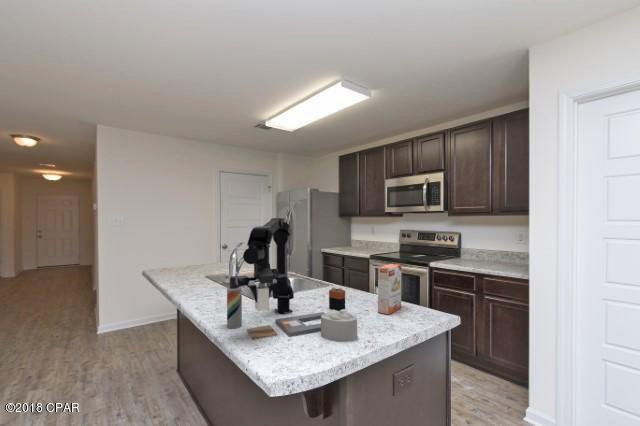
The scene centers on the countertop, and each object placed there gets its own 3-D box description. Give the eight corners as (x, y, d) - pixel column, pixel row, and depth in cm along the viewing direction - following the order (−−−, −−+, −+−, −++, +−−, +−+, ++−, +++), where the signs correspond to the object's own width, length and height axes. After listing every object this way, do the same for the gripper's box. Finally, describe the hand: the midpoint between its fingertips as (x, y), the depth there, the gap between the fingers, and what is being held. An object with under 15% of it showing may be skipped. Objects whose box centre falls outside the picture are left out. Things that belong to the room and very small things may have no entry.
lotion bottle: (228, 324, 126) (228, 275, 126) (242, 323, 127) (242, 274, 127) (225, 328, 120) (225, 277, 121) (240, 328, 121) (240, 277, 121)
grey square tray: (275, 322, 127) (275, 317, 127) (323, 315, 137) (323, 310, 137) (289, 336, 112) (289, 330, 112) (342, 327, 121) (342, 321, 121)
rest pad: (246, 330, 119) (246, 328, 119) (269, 326, 123) (269, 325, 123) (252, 339, 110) (252, 337, 110) (277, 335, 113) (277, 333, 113)
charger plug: (255, 307, 118) (255, 282, 118) (265, 306, 119) (265, 281, 120) (258, 311, 113) (258, 285, 113) (268, 309, 115) (268, 284, 115)
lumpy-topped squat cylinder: (331, 328, 121) (331, 306, 121) (362, 334, 114) (362, 310, 114) (317, 337, 112) (317, 313, 112) (350, 344, 105) (350, 318, 105)
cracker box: (389, 315, 136) (389, 268, 136) (377, 313, 139) (377, 266, 140) (402, 308, 147) (401, 264, 147) (390, 306, 150) (390, 263, 151)
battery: (340, 311, 142) (340, 289, 142) (328, 309, 146) (328, 288, 146) (345, 309, 146) (345, 288, 146) (333, 307, 150) (333, 286, 150)
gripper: (240, 265, 105) (240, 310, 105) (292, 261, 113) (292, 304, 113) (235, 261, 115) (235, 302, 115) (282, 258, 123) (282, 297, 123)
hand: (261, 301), depth 116 cm, fingers closed on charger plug, 4 cm apart
